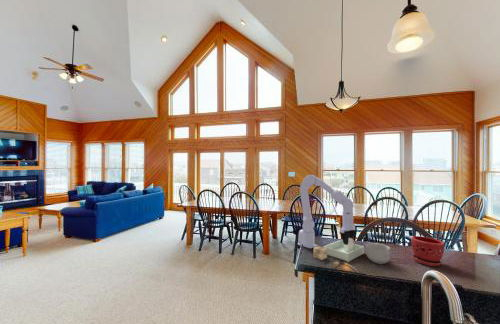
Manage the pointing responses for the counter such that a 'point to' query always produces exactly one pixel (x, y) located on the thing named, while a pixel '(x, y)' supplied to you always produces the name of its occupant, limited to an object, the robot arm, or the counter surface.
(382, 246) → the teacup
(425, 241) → the plant pot
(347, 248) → the white canister
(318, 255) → the oak cube
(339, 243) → the tote
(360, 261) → the counter surface
